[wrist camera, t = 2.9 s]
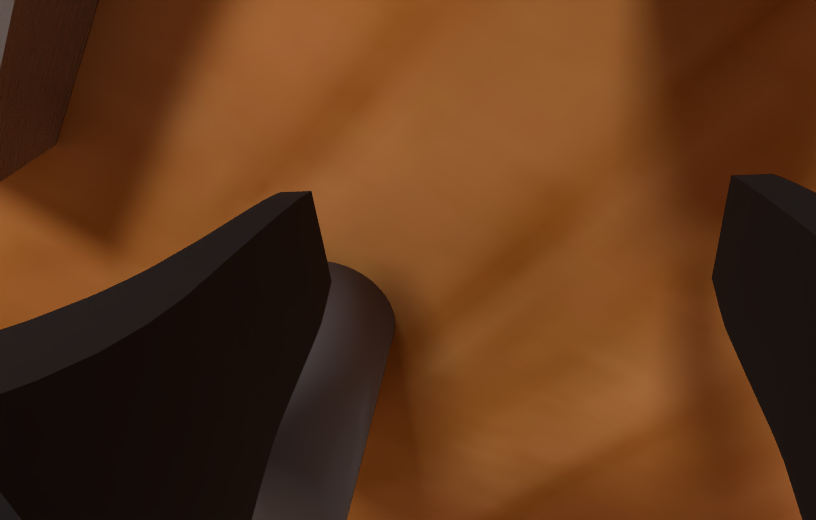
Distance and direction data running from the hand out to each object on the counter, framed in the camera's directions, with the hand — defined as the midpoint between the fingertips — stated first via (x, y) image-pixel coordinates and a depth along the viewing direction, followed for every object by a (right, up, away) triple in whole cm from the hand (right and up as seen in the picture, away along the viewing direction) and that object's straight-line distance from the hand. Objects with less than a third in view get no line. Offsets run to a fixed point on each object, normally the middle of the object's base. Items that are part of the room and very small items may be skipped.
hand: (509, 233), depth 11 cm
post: (-4, -2, +7) cm, 9 cm away
